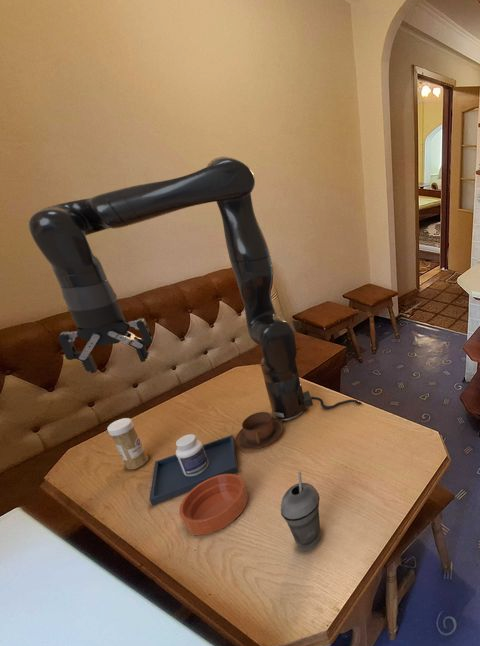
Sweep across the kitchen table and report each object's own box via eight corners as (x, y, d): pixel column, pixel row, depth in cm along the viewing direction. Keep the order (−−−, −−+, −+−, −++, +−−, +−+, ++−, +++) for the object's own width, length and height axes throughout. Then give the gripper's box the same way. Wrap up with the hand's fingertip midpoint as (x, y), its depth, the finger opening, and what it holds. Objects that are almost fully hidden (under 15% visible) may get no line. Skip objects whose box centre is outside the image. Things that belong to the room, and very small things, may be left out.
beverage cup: (297, 524, 80) (281, 459, 72) (331, 522, 80) (318, 457, 72) (285, 559, 73) (265, 491, 65) (321, 556, 74) (306, 488, 66)
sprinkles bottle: (147, 465, 93) (129, 425, 88) (124, 473, 91) (104, 432, 86) (149, 453, 97) (132, 414, 92) (127, 460, 95) (108, 421, 89)
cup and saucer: (290, 437, 103) (287, 420, 101) (245, 460, 95) (239, 443, 93) (275, 416, 111) (271, 401, 108) (231, 437, 103) (226, 420, 101)
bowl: (245, 478, 90) (241, 465, 89) (250, 516, 81) (246, 503, 79) (186, 502, 84) (180, 489, 82) (184, 547, 75) (177, 533, 73)
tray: (234, 440, 102) (232, 434, 101) (237, 472, 92) (235, 466, 91) (157, 467, 93) (155, 461, 92) (152, 506, 83) (149, 500, 82)
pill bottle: (214, 463, 94) (204, 435, 90) (194, 479, 89) (182, 450, 85) (199, 457, 95) (188, 429, 92) (178, 473, 91) (166, 444, 87)
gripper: (38, 315, 70) (72, 383, 76) (134, 301, 77) (157, 364, 84) (50, 302, 75) (81, 367, 82) (138, 290, 83) (160, 350, 89)
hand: (120, 365), depth 83 cm, fingers open, 8 cm apart
